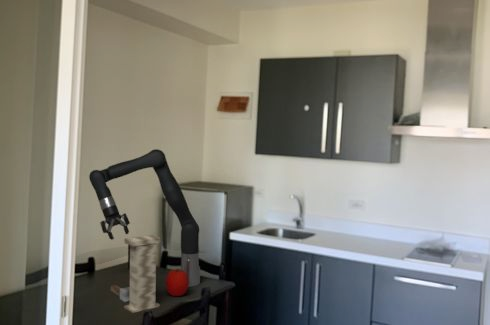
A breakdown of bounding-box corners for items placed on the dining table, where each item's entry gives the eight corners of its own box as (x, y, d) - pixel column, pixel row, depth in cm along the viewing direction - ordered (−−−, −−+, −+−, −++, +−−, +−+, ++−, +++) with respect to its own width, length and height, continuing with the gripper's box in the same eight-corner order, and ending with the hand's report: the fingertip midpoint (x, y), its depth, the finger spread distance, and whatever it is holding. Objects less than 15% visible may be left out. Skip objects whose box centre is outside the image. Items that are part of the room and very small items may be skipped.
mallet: (118, 289, 264) (118, 279, 264) (135, 299, 249) (136, 289, 249) (107, 291, 260) (107, 281, 260) (124, 301, 245) (124, 291, 245)
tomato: (176, 289, 265) (177, 264, 264) (193, 295, 257) (194, 269, 256) (159, 295, 256) (159, 268, 255) (176, 300, 248) (177, 273, 247)
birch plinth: (150, 301, 246) (151, 235, 244) (159, 306, 240) (160, 238, 238) (123, 307, 237) (124, 238, 235) (132, 312, 231) (132, 241, 229)
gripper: (98, 209, 257) (110, 239, 256) (123, 201, 267) (135, 230, 265) (93, 212, 263) (104, 242, 262) (118, 204, 272) (129, 233, 271)
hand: (120, 236), depth 263 cm, fingers open, 8 cm apart
